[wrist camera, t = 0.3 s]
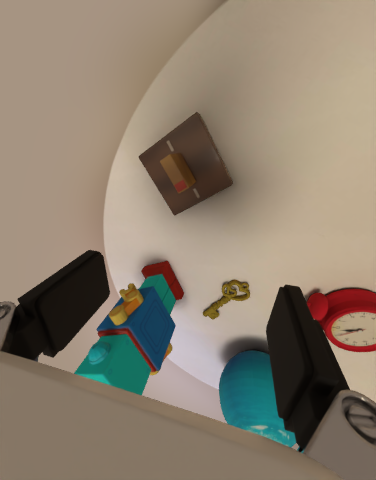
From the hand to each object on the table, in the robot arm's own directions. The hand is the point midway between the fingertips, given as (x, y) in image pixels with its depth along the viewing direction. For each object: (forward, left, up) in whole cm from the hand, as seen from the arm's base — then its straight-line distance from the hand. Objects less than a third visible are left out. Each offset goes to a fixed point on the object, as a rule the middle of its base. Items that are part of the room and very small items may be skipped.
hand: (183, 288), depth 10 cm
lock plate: (-6, -3, -22) cm, 23 cm away
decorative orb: (+36, -10, -22) cm, 44 cm away
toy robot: (+10, -18, -22) cm, 30 cm away
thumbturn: (-6, -3, -20) cm, 21 cm away
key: (+18, -9, -22) cm, 30 cm away
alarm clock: (+27, +8, -22) cm, 36 cm away
